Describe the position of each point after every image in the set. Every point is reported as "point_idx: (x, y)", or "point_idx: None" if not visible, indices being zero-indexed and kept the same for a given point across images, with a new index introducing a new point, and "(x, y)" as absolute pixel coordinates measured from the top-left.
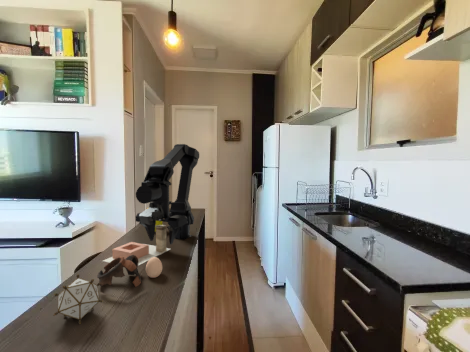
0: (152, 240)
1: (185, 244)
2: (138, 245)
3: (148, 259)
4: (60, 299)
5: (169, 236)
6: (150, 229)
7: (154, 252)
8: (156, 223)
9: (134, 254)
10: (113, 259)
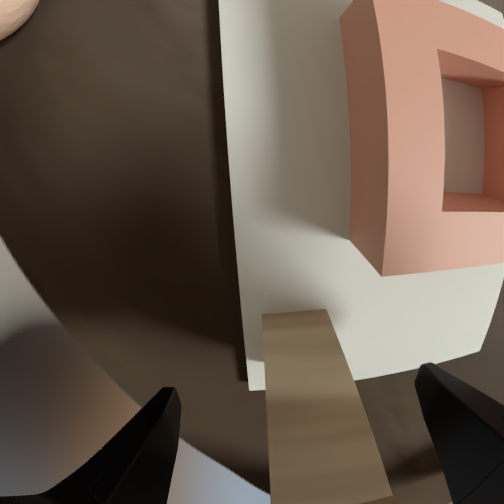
0: (416, 377)
1: (240, 457)
2: (471, 210)
3: (239, 125)
4: None
5: (135, 448)
6: (481, 452)
7: (320, 283)
8: None
9: (364, 42)
10: None
